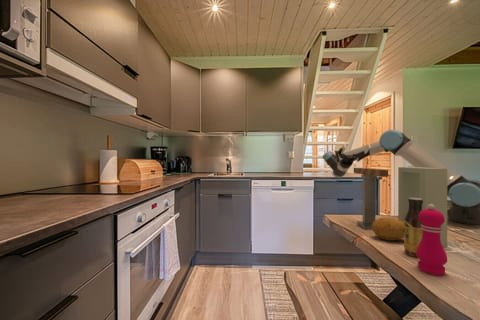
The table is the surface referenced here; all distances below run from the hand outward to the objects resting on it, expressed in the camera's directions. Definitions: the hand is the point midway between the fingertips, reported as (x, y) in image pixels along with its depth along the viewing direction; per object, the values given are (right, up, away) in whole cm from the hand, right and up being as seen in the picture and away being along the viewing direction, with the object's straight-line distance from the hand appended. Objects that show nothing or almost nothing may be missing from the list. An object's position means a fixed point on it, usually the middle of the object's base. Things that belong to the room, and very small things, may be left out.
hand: (357, 145), depth 132 cm
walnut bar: (-4, -16, -19) cm, 25 cm away
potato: (-5, -42, -37) cm, 56 cm away
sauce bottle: (-6, -42, -52) cm, 67 cm away
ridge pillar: (-4, -42, -19) cm, 46 cm away
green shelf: (+9, -42, -35) cm, 55 cm away
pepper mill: (-10, -42, -63) cm, 77 cm away
